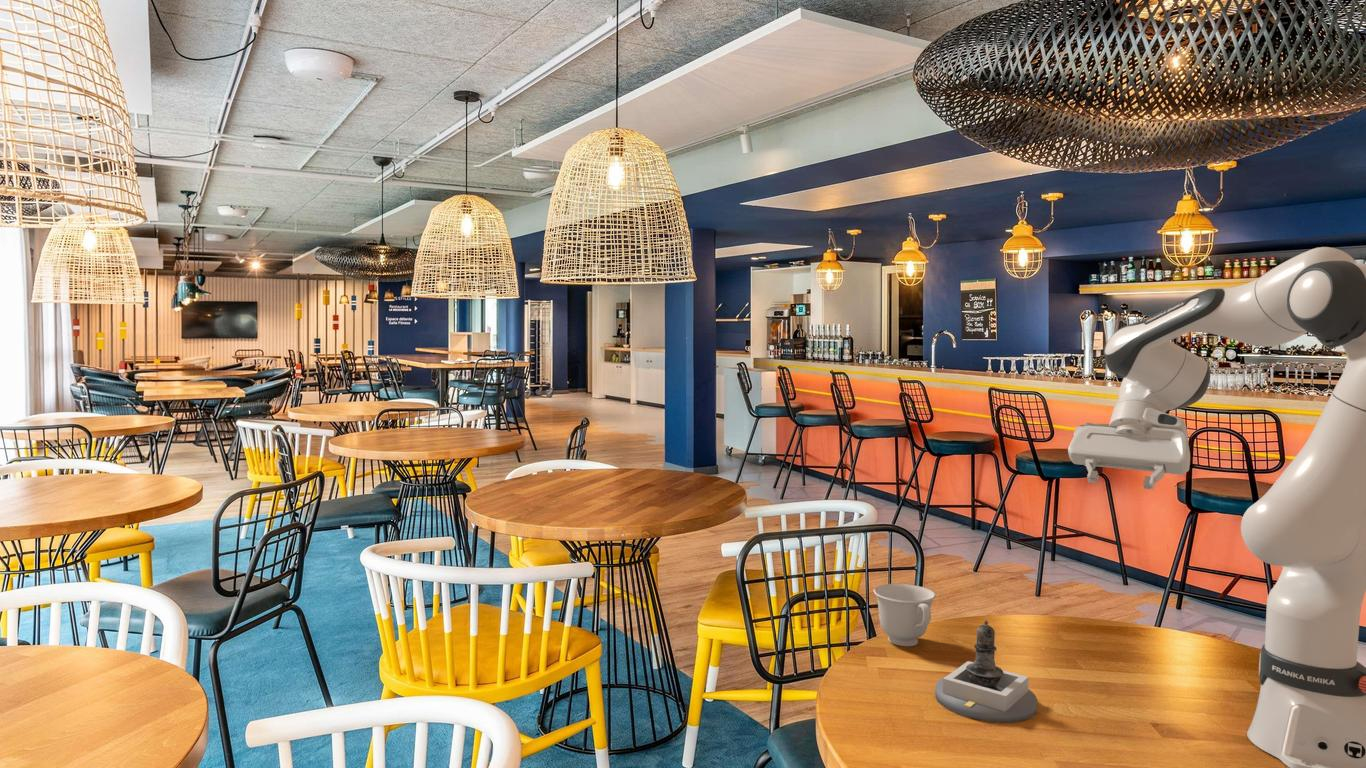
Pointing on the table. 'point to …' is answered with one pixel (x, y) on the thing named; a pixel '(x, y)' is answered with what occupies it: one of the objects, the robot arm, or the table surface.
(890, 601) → the teacup
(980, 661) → the dark grey tapered piece
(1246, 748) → the table surface
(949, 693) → the socket stand
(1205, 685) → the table surface
